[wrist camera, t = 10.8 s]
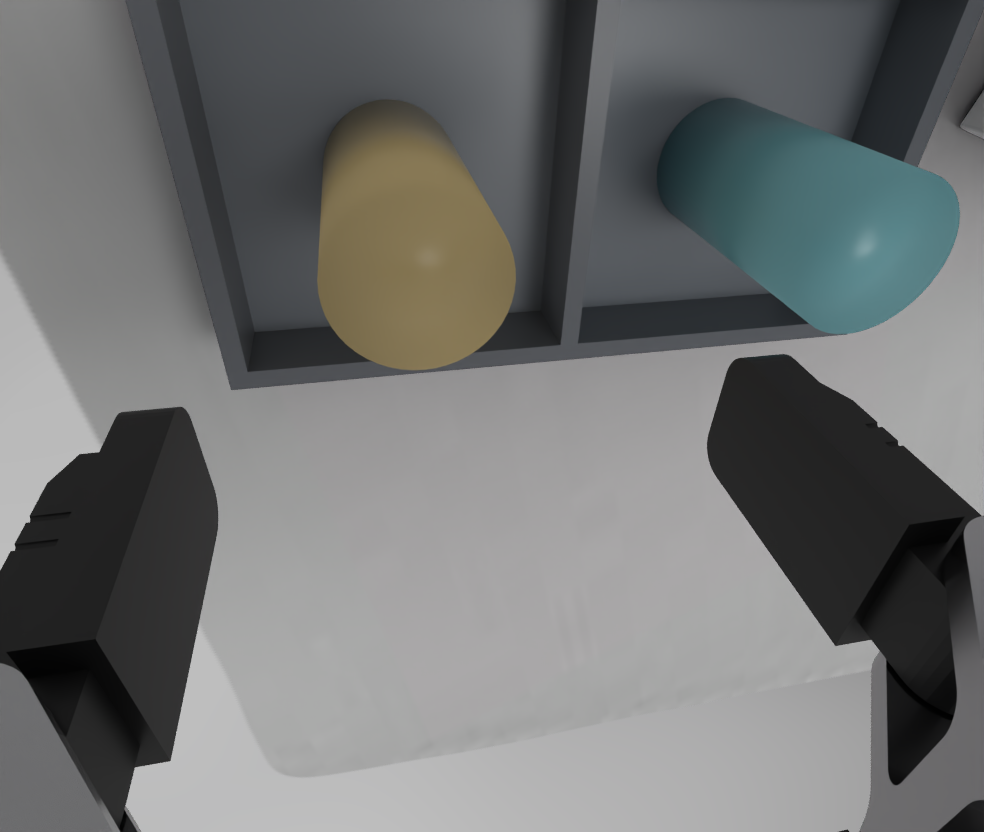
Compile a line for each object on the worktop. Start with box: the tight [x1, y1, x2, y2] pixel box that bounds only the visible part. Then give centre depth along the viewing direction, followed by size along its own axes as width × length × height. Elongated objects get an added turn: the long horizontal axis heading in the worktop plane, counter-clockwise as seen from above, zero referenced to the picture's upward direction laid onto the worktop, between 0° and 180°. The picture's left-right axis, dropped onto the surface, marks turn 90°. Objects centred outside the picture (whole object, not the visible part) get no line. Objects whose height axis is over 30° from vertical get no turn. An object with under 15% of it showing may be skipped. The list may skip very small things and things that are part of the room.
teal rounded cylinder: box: [657, 98, 960, 334], centre depth 18 cm, size 4×4×8 cm
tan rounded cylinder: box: [317, 99, 516, 370], centre depth 16 cm, size 4×4×8 cm
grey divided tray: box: [126, 0, 984, 390], centre depth 19 cm, size 22×11×4 cm, turn 88°
